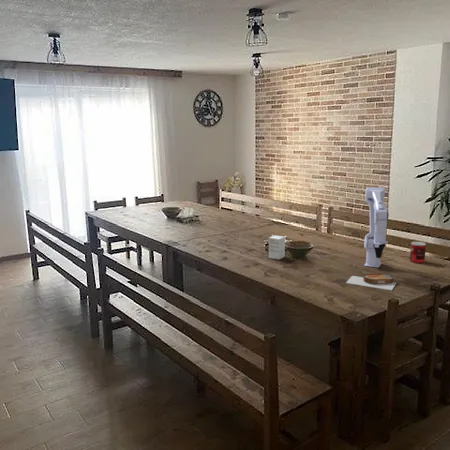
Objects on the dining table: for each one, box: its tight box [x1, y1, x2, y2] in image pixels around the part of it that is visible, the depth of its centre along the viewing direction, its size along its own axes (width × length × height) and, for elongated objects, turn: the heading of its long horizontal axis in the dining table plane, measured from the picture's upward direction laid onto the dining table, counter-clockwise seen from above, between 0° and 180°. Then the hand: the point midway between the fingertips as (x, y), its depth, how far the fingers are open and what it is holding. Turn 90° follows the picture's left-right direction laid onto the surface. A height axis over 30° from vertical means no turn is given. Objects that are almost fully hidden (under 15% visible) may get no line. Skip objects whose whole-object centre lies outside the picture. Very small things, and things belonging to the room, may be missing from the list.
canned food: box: [409, 241, 427, 264], centre depth 259 cm, size 8×8×11 cm
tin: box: [363, 273, 395, 284], centre depth 227 cm, size 15×3×8 cm
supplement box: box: [268, 235, 286, 260], centre depth 270 cm, size 7×7×13 cm
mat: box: [345, 275, 397, 292], centre depth 225 cm, size 12×22×1 cm, turn 60°
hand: (378, 257), depth 236 cm, fingers closed
